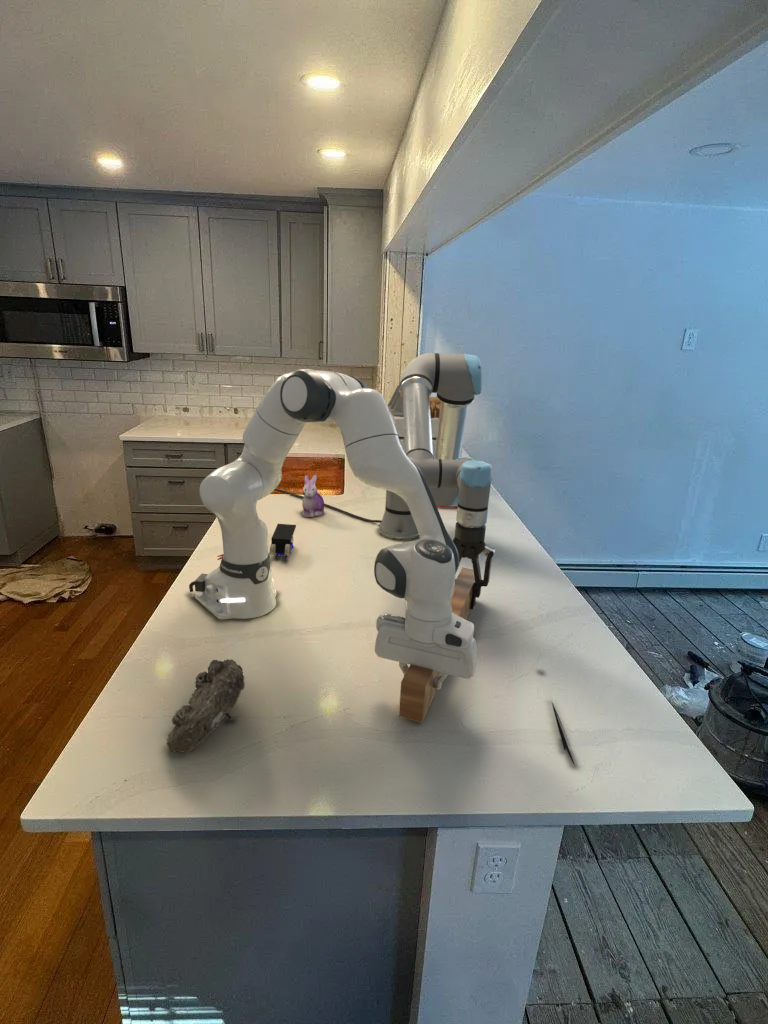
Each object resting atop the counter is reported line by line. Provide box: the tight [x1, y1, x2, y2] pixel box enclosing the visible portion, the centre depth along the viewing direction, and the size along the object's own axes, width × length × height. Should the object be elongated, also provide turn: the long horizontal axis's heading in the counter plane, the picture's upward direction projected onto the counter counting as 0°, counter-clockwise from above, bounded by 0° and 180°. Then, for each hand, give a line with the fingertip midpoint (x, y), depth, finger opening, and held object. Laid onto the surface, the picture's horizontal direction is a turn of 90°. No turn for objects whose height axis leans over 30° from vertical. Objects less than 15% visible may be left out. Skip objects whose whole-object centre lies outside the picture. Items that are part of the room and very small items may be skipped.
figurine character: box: [269, 523, 297, 560], centre depth 179 cm, size 7×8×15 cm
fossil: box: [166, 658, 245, 754], centre depth 106 cm, size 22×10×15 cm
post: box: [398, 567, 475, 723], centre depth 131 cm, size 55×5×8 cm, turn 161°
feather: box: [540, 670, 575, 765], centre depth 113 cm, size 2×28×2 cm
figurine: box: [301, 474, 325, 518], centre depth 213 cm, size 9×10×15 cm
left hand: (422, 683), depth 114 cm, fingers closed on post, 5 cm apart
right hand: (462, 604), depth 150 cm, fingers closed on post, 5 cm apart
